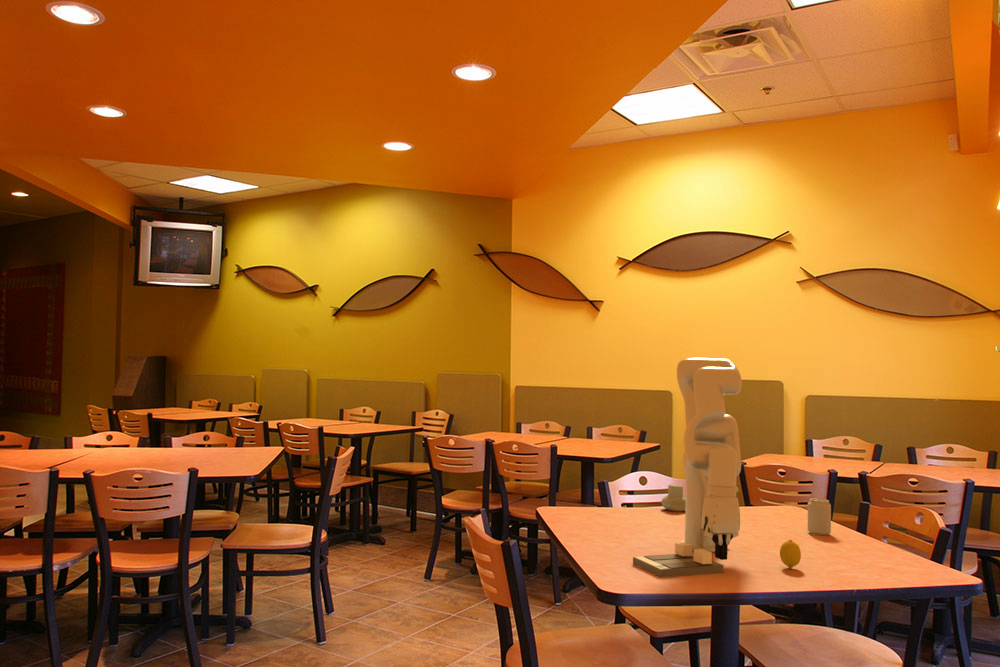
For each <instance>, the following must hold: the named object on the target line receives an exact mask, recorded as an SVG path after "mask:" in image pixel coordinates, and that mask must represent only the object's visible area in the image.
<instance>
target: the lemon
mask: <svg viewBox="0 0 1000 667" xmlns="http://www.w3.org/2000/svg"><path fill="white" fill-rule="evenodd" d="M779 557H780V560H781V562H782V563H783V564H784V565H785V566H787V567H788V569H790V570H791V569H792V568H793V567H796V566H798V565H799V564H800V561H801V558H802V551H801V548H800V546H799V545H798V544H797V543H796V542H794V541H793V540H792V539H788V540H786V541H784V542H783V543H782V544H781V546H780V549H779Z"/></svg>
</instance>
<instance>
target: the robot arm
mask: <svg viewBox="0 0 1000 667" xmlns="http://www.w3.org/2000/svg"><path fill="white" fill-rule="evenodd" d="M676 379H677V383H678V388H679V390H680V393H681V396H682V398H683V401H684V413H685V416H684V419H685V431H684V437H683V444H684V452H683V455H682V456H683V459H682V460H683V461H682V462H683V470H684V477H685V497H686V508H685V510H684V511H685V516H684V519H685V520H684V521H685V522H684V525H685V526H684V539H683V540H681V541H680V542H685V543H688V544H691V545H692V552H694V550H696V549H704V550H707V551H710V552H712V553H714V556H715V558H716V559H718V560H721V561H725V560H728V546H729V545H730V543H731V540H732V539H734V538H736V537H739V536H740V533H739V532H740V530H741V512H740V511H741V510H740V503H739V499H738V498H739V497H737V493H738V492H739V490H740V489H739V486H738V487H737V477H738V476H739V475H740V473H741V471H742V460H741V459H742V455H741V448H740V447H741V445H740V436H739V426H738V422H737V420H736V418H735V417H734V416H732V415H731V414H727V413H726V405H725V398H724V396H729V395H731V396H735V395H738V394H739V393H741V389H742V386H743V379H742V377H741V373H740V371H739V368H738V367H737V366H736V365H735V364H734V363H733V361H732V360H730V359H728V358H717V357H716V358H714V357H713V358H710V357H689V358H684V359H681V360H680V361H679V362H678V363H677V367H676Z"/></svg>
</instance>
